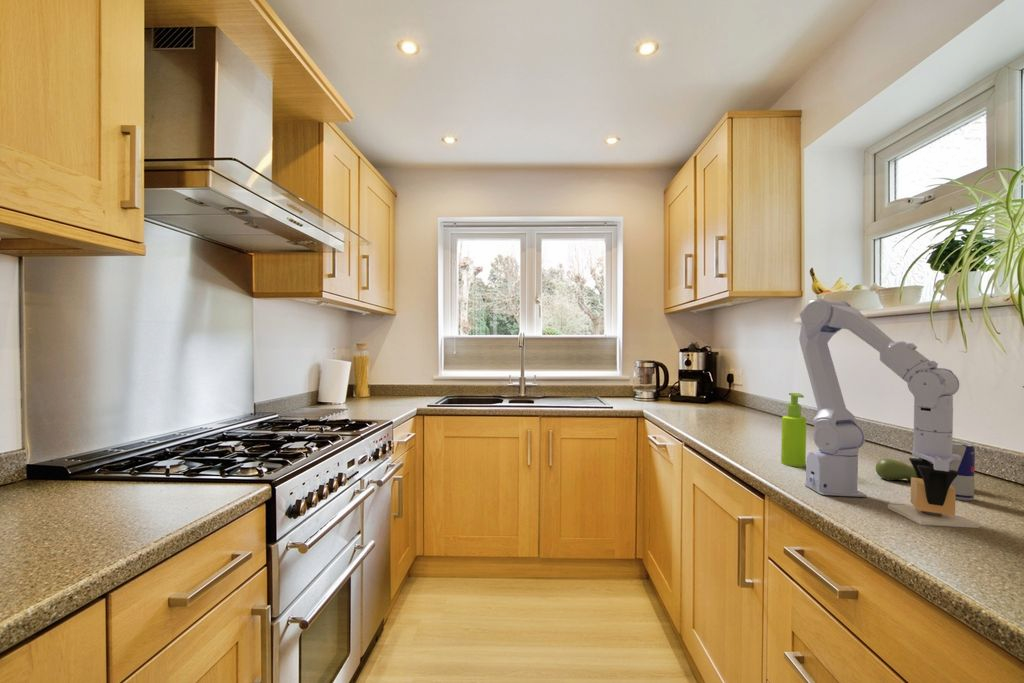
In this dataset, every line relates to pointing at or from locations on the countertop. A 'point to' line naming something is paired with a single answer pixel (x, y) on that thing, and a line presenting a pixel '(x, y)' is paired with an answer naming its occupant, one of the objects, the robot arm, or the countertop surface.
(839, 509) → the countertop surface
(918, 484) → the cardboard-colored cube
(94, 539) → the countertop surface
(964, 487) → the energy drink
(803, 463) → the soap dispenser
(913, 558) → the countertop surface
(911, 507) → the plate
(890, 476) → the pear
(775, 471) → the countertop surface
